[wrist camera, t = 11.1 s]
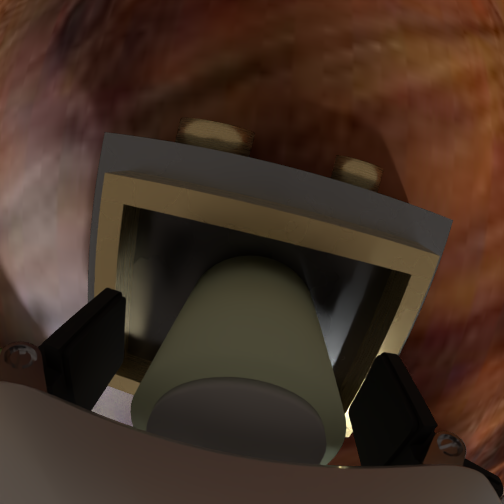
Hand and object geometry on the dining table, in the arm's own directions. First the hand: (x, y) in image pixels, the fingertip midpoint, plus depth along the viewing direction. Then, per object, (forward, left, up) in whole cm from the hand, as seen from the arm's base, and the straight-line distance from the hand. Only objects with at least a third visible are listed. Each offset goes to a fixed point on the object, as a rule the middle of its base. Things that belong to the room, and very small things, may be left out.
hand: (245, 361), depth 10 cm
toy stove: (0, 0, -8) cm, 8 cm away
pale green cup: (0, 0, -3) cm, 3 cm away
